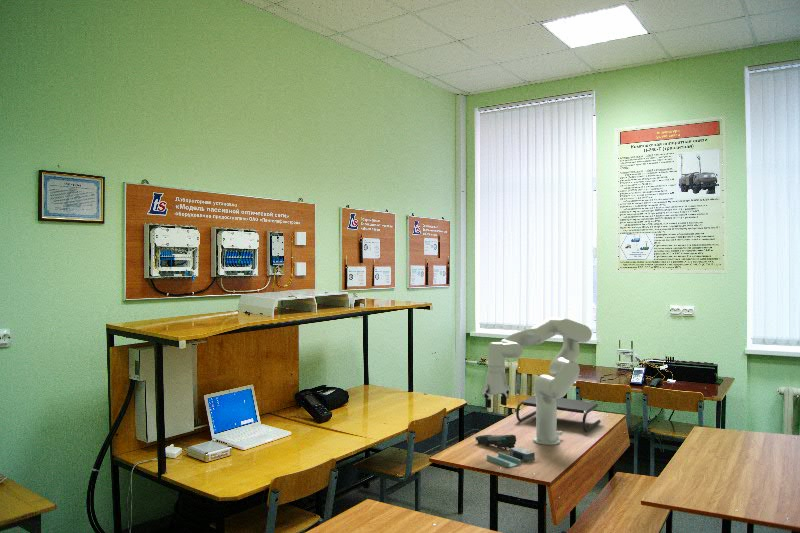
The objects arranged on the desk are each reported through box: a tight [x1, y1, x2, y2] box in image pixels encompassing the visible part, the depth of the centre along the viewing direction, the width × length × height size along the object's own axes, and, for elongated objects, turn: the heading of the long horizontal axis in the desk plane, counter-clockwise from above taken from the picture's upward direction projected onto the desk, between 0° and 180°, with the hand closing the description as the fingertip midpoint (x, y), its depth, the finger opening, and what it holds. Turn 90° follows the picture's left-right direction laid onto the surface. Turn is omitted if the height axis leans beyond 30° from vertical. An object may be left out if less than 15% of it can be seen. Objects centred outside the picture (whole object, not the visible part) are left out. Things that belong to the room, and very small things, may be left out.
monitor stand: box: [515, 395, 601, 433], centre depth 308 cm, size 37×28×11 cm
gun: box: [475, 434, 517, 450], centre depth 264 cm, size 4×20×10 cm, turn 47°
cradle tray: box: [486, 451, 522, 469], centre depth 243 cm, size 7×13×2 cm, turn 34°
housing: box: [509, 446, 536, 463], centre depth 248 cm, size 5×10×4 cm, turn 34°
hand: (495, 406), depth 264 cm, fingers open, 9 cm apart
